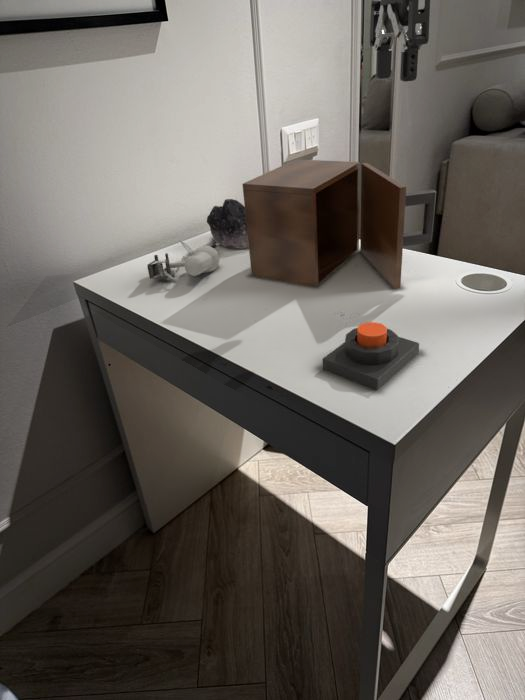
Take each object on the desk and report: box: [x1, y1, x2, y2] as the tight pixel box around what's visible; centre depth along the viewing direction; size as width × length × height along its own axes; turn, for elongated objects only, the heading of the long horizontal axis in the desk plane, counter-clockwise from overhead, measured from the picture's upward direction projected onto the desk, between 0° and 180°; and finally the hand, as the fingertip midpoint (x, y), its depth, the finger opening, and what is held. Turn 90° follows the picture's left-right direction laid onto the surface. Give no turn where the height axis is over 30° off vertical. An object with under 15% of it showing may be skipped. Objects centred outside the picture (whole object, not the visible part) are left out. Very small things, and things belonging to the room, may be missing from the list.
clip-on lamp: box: [146, 238, 221, 281], centre depth 98 cm, size 12×6×18 cm
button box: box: [322, 327, 420, 391], centre depth 66 cm, size 10×8×4 cm
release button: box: [356, 321, 388, 347], centre depth 65 cm, size 4×4×2 cm
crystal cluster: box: [206, 198, 249, 249], centre depth 110 cm, size 13×14×10 cm
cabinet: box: [242, 159, 361, 288], centre depth 92 cm, size 13×18×17 cm
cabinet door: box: [359, 162, 437, 290], centre depth 88 cm, size 7×18×17 cm, turn 9°
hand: (395, 79), depth 78 cm, fingers open, 8 cm apart
